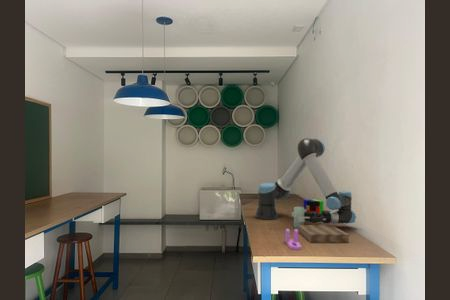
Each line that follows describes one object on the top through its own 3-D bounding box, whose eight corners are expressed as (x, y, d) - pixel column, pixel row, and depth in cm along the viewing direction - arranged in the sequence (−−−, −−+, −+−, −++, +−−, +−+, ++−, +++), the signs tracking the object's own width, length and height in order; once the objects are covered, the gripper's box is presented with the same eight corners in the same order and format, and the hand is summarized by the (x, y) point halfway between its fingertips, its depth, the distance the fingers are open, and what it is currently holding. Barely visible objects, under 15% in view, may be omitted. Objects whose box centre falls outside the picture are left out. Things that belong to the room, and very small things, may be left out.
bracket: (285, 241, 154) (285, 228, 154) (296, 242, 154) (296, 228, 154) (290, 250, 141) (290, 234, 141) (302, 250, 141) (302, 235, 141)
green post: (295, 228, 181) (295, 208, 181) (292, 226, 187) (292, 206, 187) (305, 228, 181) (305, 208, 181) (301, 226, 187) (302, 206, 187)
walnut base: (310, 242, 153) (310, 234, 153) (297, 232, 173) (298, 225, 173) (348, 242, 154) (348, 234, 154) (332, 232, 174) (332, 225, 174)
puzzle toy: (303, 213, 229) (303, 199, 229) (313, 212, 233) (313, 199, 233) (312, 215, 220) (312, 202, 220) (323, 214, 224) (323, 201, 224)
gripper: (338, 228, 173) (301, 228, 171) (321, 218, 198) (289, 218, 196) (338, 214, 173) (302, 214, 171) (321, 207, 198) (289, 206, 196)
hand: (295, 216), depth 184 cm, fingers open, 13 cm apart
